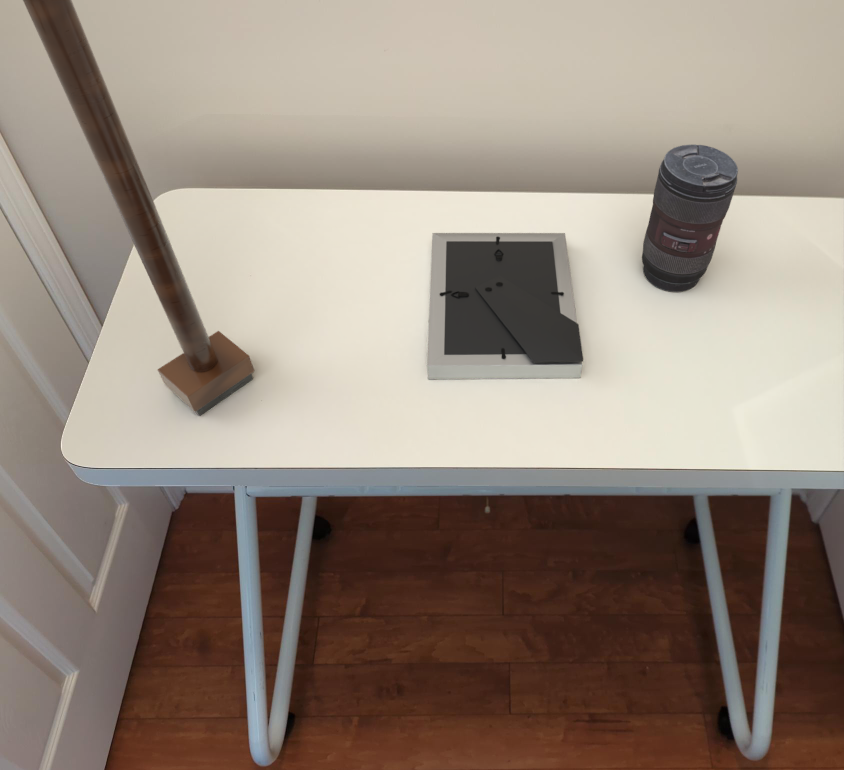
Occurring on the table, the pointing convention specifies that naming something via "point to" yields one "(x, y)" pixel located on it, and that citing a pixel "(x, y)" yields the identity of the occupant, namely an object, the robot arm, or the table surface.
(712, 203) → the camera lens
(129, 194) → the brown piece
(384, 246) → the table surface
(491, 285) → the picture frame
